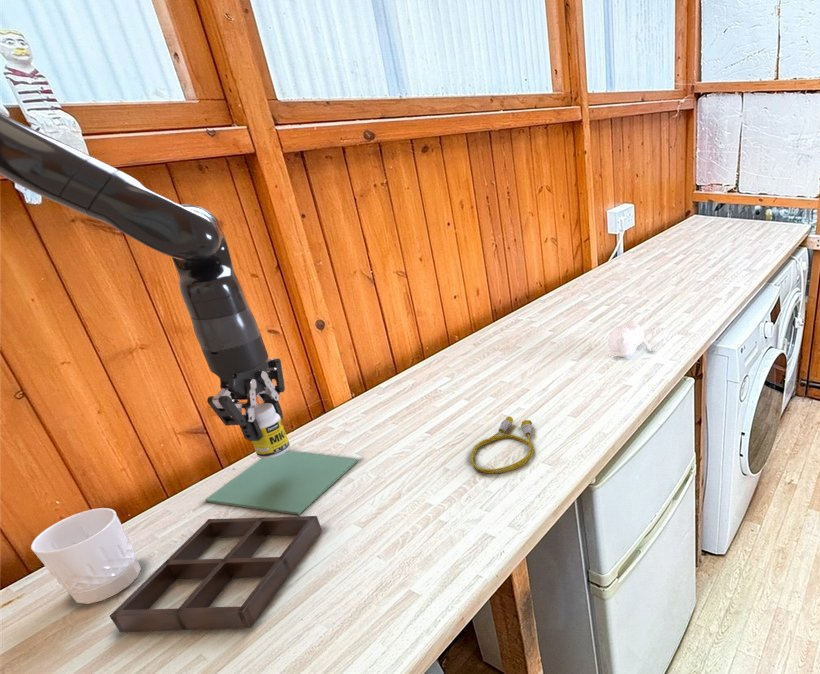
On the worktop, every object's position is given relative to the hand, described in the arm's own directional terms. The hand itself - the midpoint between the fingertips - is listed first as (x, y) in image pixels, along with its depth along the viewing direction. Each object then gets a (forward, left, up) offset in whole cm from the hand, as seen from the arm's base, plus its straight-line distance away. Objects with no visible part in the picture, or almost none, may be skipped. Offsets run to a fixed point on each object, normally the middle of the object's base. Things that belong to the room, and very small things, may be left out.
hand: (266, 429), depth 87 cm
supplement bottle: (0, 0, -5) cm, 5 cm away
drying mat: (0, 0, -11) cm, 11 cm away
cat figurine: (+49, +59, -11) cm, 78 cm away
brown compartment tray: (+9, -19, -11) cm, 24 cm away
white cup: (-7, -23, -11) cm, 26 cm away
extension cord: (+35, +15, -11) cm, 40 cm away
